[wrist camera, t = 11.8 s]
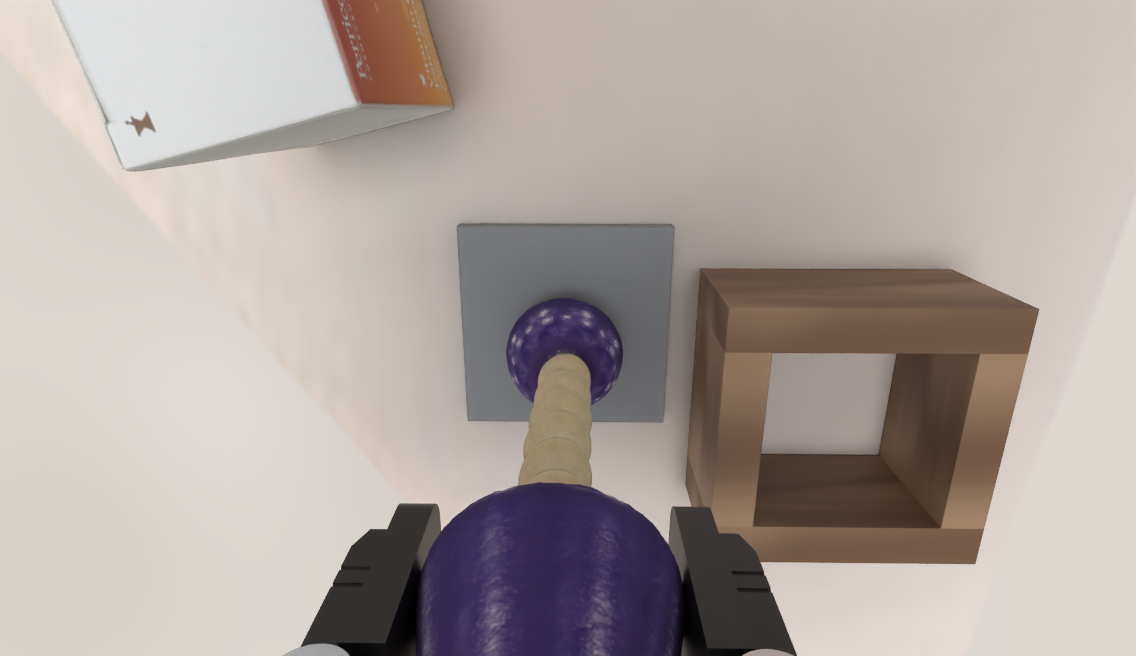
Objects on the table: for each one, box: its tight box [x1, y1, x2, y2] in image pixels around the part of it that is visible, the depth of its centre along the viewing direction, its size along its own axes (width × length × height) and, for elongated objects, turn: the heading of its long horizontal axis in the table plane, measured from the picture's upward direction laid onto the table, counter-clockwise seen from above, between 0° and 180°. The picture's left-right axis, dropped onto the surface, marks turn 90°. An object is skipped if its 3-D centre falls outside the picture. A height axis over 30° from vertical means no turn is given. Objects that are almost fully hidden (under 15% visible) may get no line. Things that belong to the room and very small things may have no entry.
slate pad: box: [457, 224, 674, 422], centre depth 26 cm, size 8×8×1 cm
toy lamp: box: [416, 298, 685, 656], centre depth 16 cm, size 5×5×17 cm
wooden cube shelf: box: [686, 269, 1039, 564], centre depth 24 cm, size 10×10×5 cm
